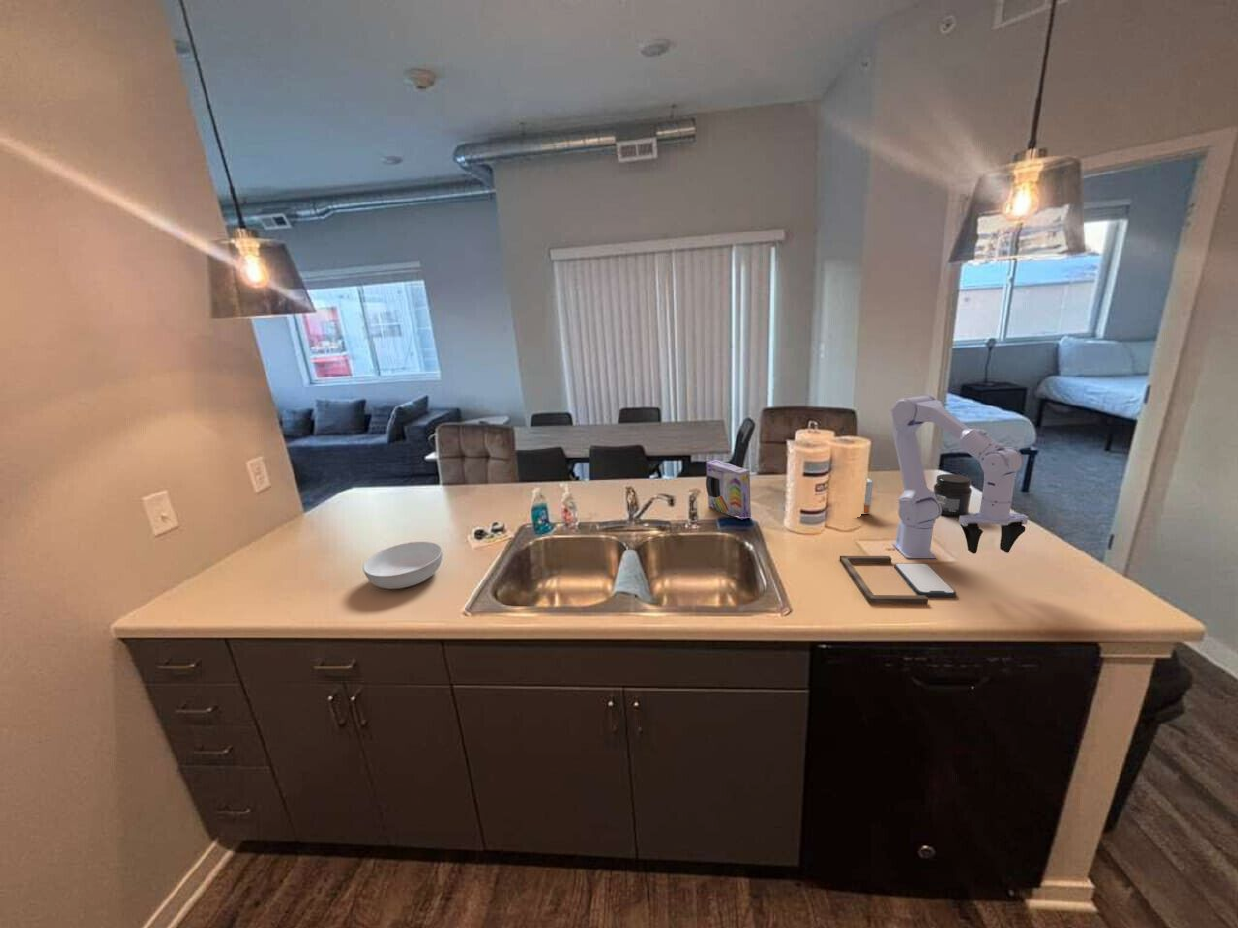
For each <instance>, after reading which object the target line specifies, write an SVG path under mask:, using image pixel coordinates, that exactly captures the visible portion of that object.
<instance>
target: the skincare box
mask: <svg viewBox="0 0 1238 928" xmlns="http://www.w3.org/2000/svg"><path fill="white" fill-rule="evenodd" d="M873 484H874V481H872V480H871V479H870V478H868V477H867V484H866V494H865V503H864V513H865V514H869V515H870V514H871V513H870V511H871V503H872V496H873V495H872V494H873Z"/></svg>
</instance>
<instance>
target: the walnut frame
mask: <svg viewBox="0 0 1238 928" xmlns="http://www.w3.org/2000/svg"><path fill="white" fill-rule="evenodd" d="M838 560H839V562H840V564H841V565H842V567H843V568H844V570H845V572H847V574H848V576H849V577H850V578H851V580H852V581H853V582H854V584H855V585H856V588H857V589H858V590H859V591H860V593H861V594H862V596H863V598H864V599H865V600H866V602H867V603H868V604H869V605H924V606H925V605H928V604H929V598H927V597H926V596H925V595H917V594H916V595H915V594H914V595H913V594H912V595H911V594H909V595H907V594H906V595H905V594H904V595H901V594H893V595H892V594H874V593H873V592H872V590H871V588H869V587H868V585H867V583H866V582H865V581H864V579H863V578H862V577H861V575H860V574H859V572H858V571H857V569H855V567H854V566H853V564H892V556H890V555H839V559H838Z"/></svg>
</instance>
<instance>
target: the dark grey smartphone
mask: <svg viewBox="0 0 1238 928" xmlns="http://www.w3.org/2000/svg"><path fill="white" fill-rule="evenodd" d="M893 568H894V570H895V571H896V573H898V574H899V576H900V577H901V578H902V579H903V580H904V582H905V583H906V584H907V585H908V587H910V589H911V590H912V591H913V592H914V593H915V594H916V595H925V596H926V597H927V598H928V599H930V598H933V599H937V598H938V599H941V598H942V599H955V598H956V596H957V591H956V590H955V589H954V588H953V587H951V585H949V583H947V581H946V580H944V578H942V576H941V575H939V574H938V573H937V572H936V571H935V570H934V569H933V568H932V567H931V566H930V565H929V564H927V563H913V562H912V563H911V562H906V563H903V562H896V563H894V565H893Z"/></svg>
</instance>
